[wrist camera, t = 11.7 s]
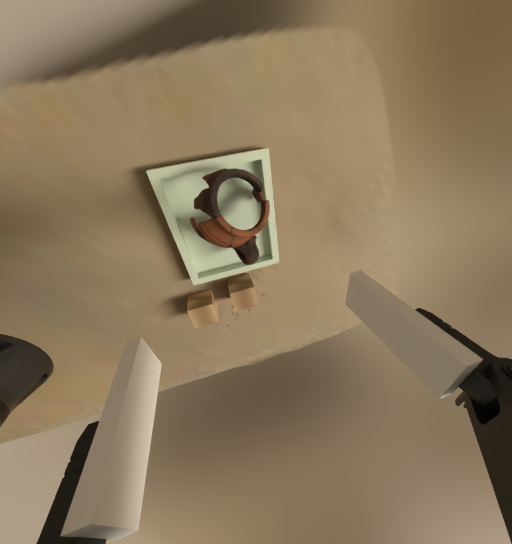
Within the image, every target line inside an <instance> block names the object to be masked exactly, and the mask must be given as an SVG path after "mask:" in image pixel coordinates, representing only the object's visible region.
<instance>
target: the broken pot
mask: <svg viewBox="0 0 512 544" xmlns="http://www.w3.org/2000/svg"><path fill="white" fill-rule="evenodd" d="M230 178H240V179H242V180H245V181H247V182H248V183H249V184H250V185H251V186H252V187H253V191H252V195H253V196H254V198H255V199H256V201H257V202H258V203H260V202H261V216H260V219H259V221H258V223H257V224H256V225H255V226H254V227H253V228H251V229H248V230H240V229H237V228H235V227H232V226H231V225H230V224H229V223H228V222H227V221H226V220H225V219H224V218H223V216H222V215H221V214H220V211H219V208H218V203H217V195H218V190H219V187H220V186H221V184H222V183H223V182H224V181H225V180H227V179H230ZM202 179H203V180H205V181H206V183H207V184H208V186H209V188H206V189H203V190H202V191H201V192H200V193H199V195H198V196H197V197H196V198H195V199H194V208H195V209H200V210H201V211H202V212H204V213H206V214H207V215H209V216H210V217H212V218H211V219H209V220H207V221H203V222H199V225H198V226H197V224H196V222H195V219H194V218H193V217H191V218H190V222H191V225H192V227H193V228H194V230H195V232H196V233H197V234H198V235H199V236H200V237H201V238H202V239H204V240H206V241H207V242H209V243H211V244H214V245H217V246H219V247H223V248H233V249H234V250H235V252H236V253H237V255H238V257H239V258H240V260H241V261H242V262H243V263H244V264H245V265H253V264H254V263H255V262H257V260H258V258H259V250H258V247H257V245H256V238H257V236H256V235H255V234H257V233H259V232H260V231H261V230H262V228H263V227H264V226H265V224H266V222H267V220H268V217H269V212H270V204H269V200H265V201H264V198H263V194H262V191H263V184H262V183H261V181H260V180H259V179H258V178H257V177H255V176H254V175H253V174H252V173H250V172H248V171H246V170H242V169H241V170H240V169H235V168H233V169H226V168H225V169H220V170H218V171H216V172H213V173H210V174H207V175H205V176H204V177H202ZM199 229H200V230H199Z"/></svg>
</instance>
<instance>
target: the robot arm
mask: <svg viewBox="0 0 512 544" xmlns="http://www.w3.org/2000/svg"><path fill="white" fill-rule="evenodd" d="M346 305H347V306H348V307H349V308H350V309H351V310H352V311H353V312H354V313H355V314H356V315H357V316H358V317H359V318H360V319H361V320H362V321H363V322H364V323H365V324H366V325H367V326H368V328H370V329H371V330H372V332H373V333H374V334H375V335H376V336H377V337H378V338H379V339H380V340H381V341H382V342H383V343H384V344H385V345H386V346H387V347H388V348H389V349H390V350H391V351H392V352H393V353H394V354H395V355H396V356H397V357H398V358H399V359H400V360H401V361H402V362H403V363H404V364H405V365H406V366H407V367H408V368H409V369H410V370H411V371H412V372H413V373H414V374H415V375H416V376H417V377H418V378H419V379H420V381H422V383H424V385H425V386H426V387H427V388H428V389H429V390H430V391H431V392H432V393H433V394H434V395H435V396H436V397H437V398H438V399H441V398H443V397H445V396H447V395H450V394H452V393H453V392H454V391H455V390H456V389H457V388H458V387H460V388H461V389H462V390H463V392H462V393H461V394H460V395H459V396H458V397H457V399H456V401H455V402H456V405H457V406H459V405H460V404H461V403H462V402H465V404H464V408H467V410H468V414H469V417H470V420H471V423H472V426H473V429H474V432H475V435H476V438H477V441H478V444H479V447H480V450H481V453H482V456H483V459H484V462H485V465H486V467H487V471H488V474H489V477H490V479H491V483H492V486H493V488H494V492H495V495H496V498H497V501H498V504H499V507H500V510H501V513H502V516H503V519H504V521H505V525H506V528H507V531H508V534H509V537H510V540H511V543H512V359H508V358H498V357H496V356H494V355H492V354H491V353H489V352H488V351H486V350H485V349H483V348H482V347H480V346H479V345H477V344H476V343H474V342H473V341H471V340H470V339H469V338H467V337H466V336H464V335H463V334H461V333H460V332H459V331H457V330H456V329H453V328H452V327H451V326H450V325H448V324H447V323H444V322H443V320H441V319H440V318H438V317H437V316H435V315H434V314H432V313H430V312H428V311H426V310H423V309H421V308H418V309H416V310H415V309H413V308H412V307H410V306H409V305H408V304H406V303H405V302H404V301H402V300H401V299H399V298H398V297H397V296H395V295H394V294H392V293H391V292H390V291H388V290H387V289H386V288H384V287H383V286H381V285H380V284H379V283H377V282H376V281H375V280H373V279H372V278H370V277H369V276H368V275H366V274H365V273H364V272H362V271H361V270H360V271H357V272H353V273H350V279H349V285H348V291H347V298H346ZM161 366H162V364H161V362H160V361H159V360H158V358H157V357H156V356H155V354H154V353H153V352H152V350H151V349H150V348H149V346H148V345H147V344H146V342H145V341H144V340H143V339H142V337H138V338H135V339H132V340H129V341H127V342H126V345H125V348H124V350H123V353H122V356H121V359H120V362H119V365H118V368H117V371H116V374H115V377H114V380H113V383H112V386H111V389H110V392H109V395H108V397H107V400H106V403H105V406H104V409H103V412H102V415H101V418H100V421H97V422H95V423H91V424H88V426H87V427H86V429H85V430H84V432H83V433H82V435H81V436H80V438H79V439H78V441H77V443H76V445H75V448H74V451H73V453H72V456H71V458H70V460H71V461H70V462H69V463H68V466H67V468H66V471H65V473H64V475H65V476H64V478H63V479H62V481H61V484H60V486H59V489H58V491H57V494H56V497H55V499H54V501H53V504H52V506H51V509H50V512H49V514H48V517H47V519H46V522H45V524H44V527H43V529H42V532H41V534H40V537H39V540H38V542H37V544H105V543H106V540H117V539H120V538H122V537H124V536H127V535H129V534H131V533H133V532H136V531H138V527H139V521H140V514H141V507H142V499H143V493H144V485H145V478H146V471H147V464H148V457H149V450H150V443H151V436H152V428H153V421H154V414H155V408H156V401H157V394H158V387H159V380H160V373H161ZM52 372H53V362H52V360H51V358H50V357H49V356H48V355H47V354H46V353H45V352H44V351H43V350H42V349H40V348H39V347H37V346H35V345H33V344H31V343H29V342H27V341H24V340H21V339H18V338H15V337H11V336H7V335H2V334H0V427H1V425H2V424H3V423H4V421H5V420H6V418H7V417H8V415H9V414H10V413H11V412H12V411H13V410H14V409H15V408H16V407H17V406H18V405H19V404H20V403H22V402H23V401H24V400H25V399H26V398H27V397H28V396H29V395H31V394H32V393H33V392H34V391H35V390H36V389H37V388H38V387H40V386H41V385H42V384H43V383H44V382H45V381H46V380H47V379H48V378H49V377H50V376H51V374H52Z"/></svg>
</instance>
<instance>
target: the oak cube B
mask: <svg viewBox="0 0 512 544" xmlns="http://www.w3.org/2000/svg"><path fill="white" fill-rule="evenodd" d="M227 284H228V288H229V293H230V296H231V299H232V303H233V306H234V309H235V312H237V311H240V310H243V309H246V308H250V307H253V306H256V305H258V302H257V297H256V292H255V287H254V285H253V282H252V280H251V278H250V275H249V274H246V275H243V276H239V277H236V278H232V279H229V280H227Z"/></svg>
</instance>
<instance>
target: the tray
mask: <svg viewBox="0 0 512 544" xmlns="http://www.w3.org/2000/svg"><path fill="white" fill-rule="evenodd" d="M225 168H226V169H233V168H235V169H240V170H241V169H242V170H246V171H248V172H250V173H252V174H253V175H254V176H255V177H257V178H258V179H259V180H260V181H261V183H262V184H263V191H262V194H263V198H264V201H265V200H269V204H270V212H269V217H268V220H267V222H266V224H265V226H264V227H263V228H262V230H261V231H260V232H259V233H257V234H255V235H256V236H257V238H256V245H257V247H258V250H259V258H258V260H257V262H255V263H254V264H253V265H245V264H244V263H243V262H242V261H241V260H240V258H239V257H238V255H237V253H236V252H235V250H234V249H233V248H223V247H219V246H217V245H214V244H211V243H209V242H207V241H206V240H204V239H202V238H201V237H200V236H199V235H198V234H197V233H196V232H195V230H194V228H193V227H192V225H191V222H190V218H191V217H193V218H194V219H195V222H196V224H197V226H198V225H199V222H203V221H207V220H209V219H211V218H212V217H210V216H209V215H207V214H206V213H204V212H202V211H201V210H200V209H195V208H194V199H195V198H196V197H197V196H198V195H199V193H200V192H201V191H202V190H203V189H206V188H209V186H208V184H207V183H206V181H205V180H203V179H202V177H204V176H205V175H207V174H210V173H213V172H216V171H218V170H220V169H225ZM146 173H147V175H148V177H149V180H150V182H151V185H152V187H153V189H154V192H155V194H156V196H157V199H158V201H159V204H160V206H161V208H162V211H163V213H164V216H165V218H166V220H167V223H168V225H169V228H170V230H171V232H172V235H173V237H174V240H175V242H176V244H177V247H178V249H179V252H180V254H181V256H182V259H183V261H184V263H185V266H186V268H187V271H188V273H189V275H190V278H191V280H192V283H193V285H198V284H201V283H205V282H209V281H213V280H216V279H220V278H224V277H227V276H231V275H235V274H239V273H242V272H246V271H250V270H253V269H257V268H261V267H265V266H268V265H272V264H276V263H279V255H278V244H277V233H276V223H275V212H274V201H273V190H272V179H271V168H270V157H269V148H261V149H256V150H250V151H245V152H240V153H234V154H229V155H224V156H218V157H213V158H207V159H202V160H197V161H191V162H186V163H181V164H175V165H170V166H164V167H159V168H154V169H149V170H147V171H146ZM252 191H253V187H252V186H251V185H250V184H249V183H248V182H247V181H245V180H242V179H240V178H230V179H227V180H225V181H224V182H223V183H222V184H221V186H220V187H219V190H218V195H217V203H218V208H219V211H220V214H221V215H222V216H223V218H224V219H225V220H226V221H227V222H228V223H229V224H230V225H231V226H232V227H235V228H237V229H240V230H248V229H251V228H253V227H254V226H255V225H256V224H257V223H258V221H259V219H260V216H261V202H260V203H258V202H257V201H256V199H255V198H254V196H253V195H252ZM199 230H200V229H199Z"/></svg>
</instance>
